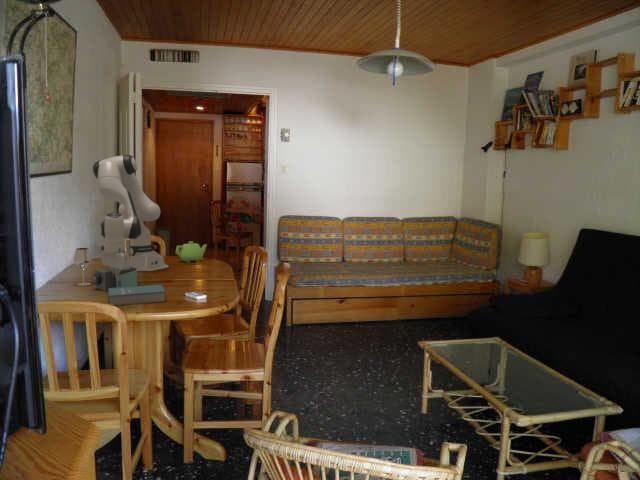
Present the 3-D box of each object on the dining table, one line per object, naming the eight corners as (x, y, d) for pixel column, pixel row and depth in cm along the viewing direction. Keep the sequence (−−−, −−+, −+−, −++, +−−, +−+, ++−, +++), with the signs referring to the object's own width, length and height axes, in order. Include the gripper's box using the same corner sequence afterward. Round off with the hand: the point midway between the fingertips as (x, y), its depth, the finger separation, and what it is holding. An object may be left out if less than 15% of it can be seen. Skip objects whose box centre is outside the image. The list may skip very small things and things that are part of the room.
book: (109, 307, 221) (109, 295, 221) (108, 298, 236) (108, 287, 235) (165, 302, 230) (165, 291, 229) (161, 294, 245) (160, 284, 244)
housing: (126, 283, 266) (125, 264, 265) (136, 286, 260) (136, 266, 259) (91, 288, 253) (90, 268, 252) (101, 292, 246) (100, 271, 245)
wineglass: (75, 286, 257) (73, 250, 254) (74, 283, 264) (72, 248, 262) (93, 285, 260) (91, 249, 258) (92, 282, 268) (90, 247, 265)
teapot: (203, 258, 343) (203, 239, 341) (210, 261, 331) (210, 241, 330) (172, 261, 332) (172, 241, 331) (179, 264, 321) (178, 243, 319)
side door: (136, 285, 260) (135, 269, 259) (139, 285, 259) (139, 269, 258) (116, 292, 245) (116, 275, 244) (120, 292, 245) (119, 275, 244)
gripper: (132, 249, 242) (133, 279, 244) (111, 245, 256) (112, 273, 257) (120, 250, 238) (121, 280, 239) (98, 246, 251) (99, 274, 253)
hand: (116, 276), depth 248 cm, fingers closed
